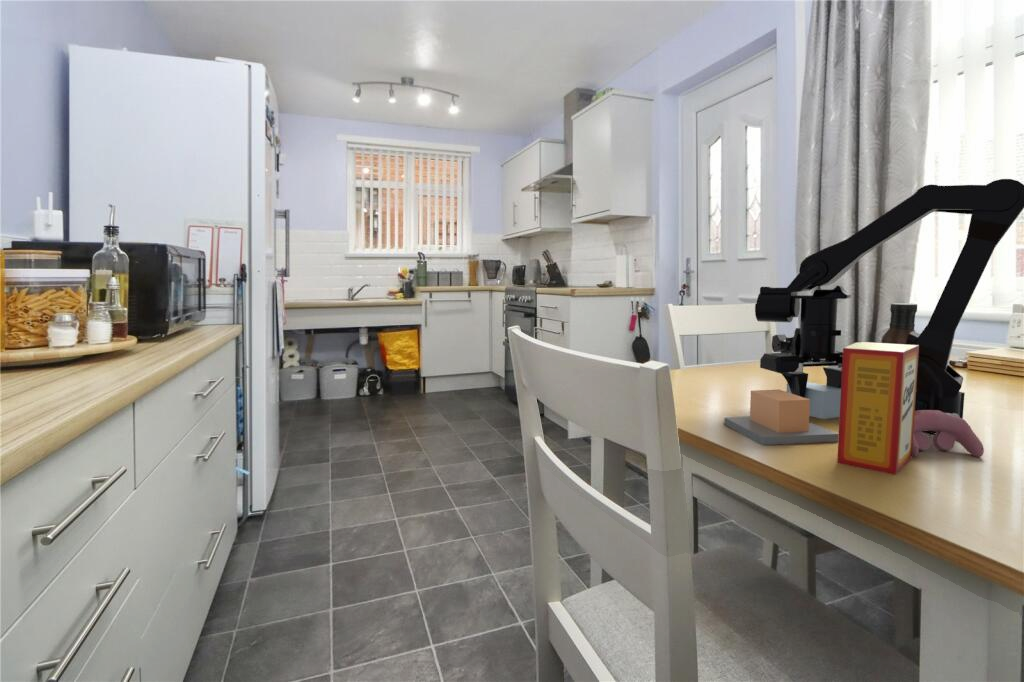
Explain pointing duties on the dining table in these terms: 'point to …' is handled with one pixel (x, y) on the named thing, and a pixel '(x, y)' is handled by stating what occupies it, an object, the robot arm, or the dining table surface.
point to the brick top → (822, 400)
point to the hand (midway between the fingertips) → (814, 407)
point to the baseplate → (773, 437)
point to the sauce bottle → (900, 323)
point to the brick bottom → (780, 410)
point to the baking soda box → (877, 405)
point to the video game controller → (944, 432)
